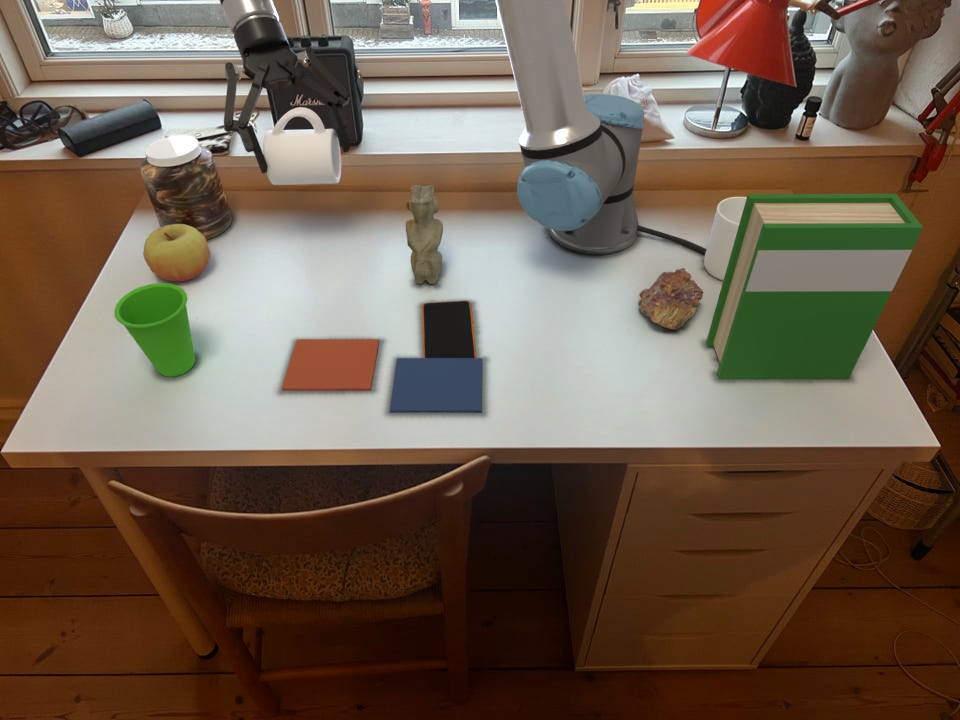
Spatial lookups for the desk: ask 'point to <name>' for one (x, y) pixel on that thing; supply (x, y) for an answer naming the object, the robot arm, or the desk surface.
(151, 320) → the cup
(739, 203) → the mug
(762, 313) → the hardback book
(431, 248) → the sculpture
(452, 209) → the desk surface
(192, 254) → the apple
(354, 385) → the terracotta mat
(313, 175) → the mug
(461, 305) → the smartphone
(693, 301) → the mineral specimen
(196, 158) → the jar
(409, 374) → the blue mat
